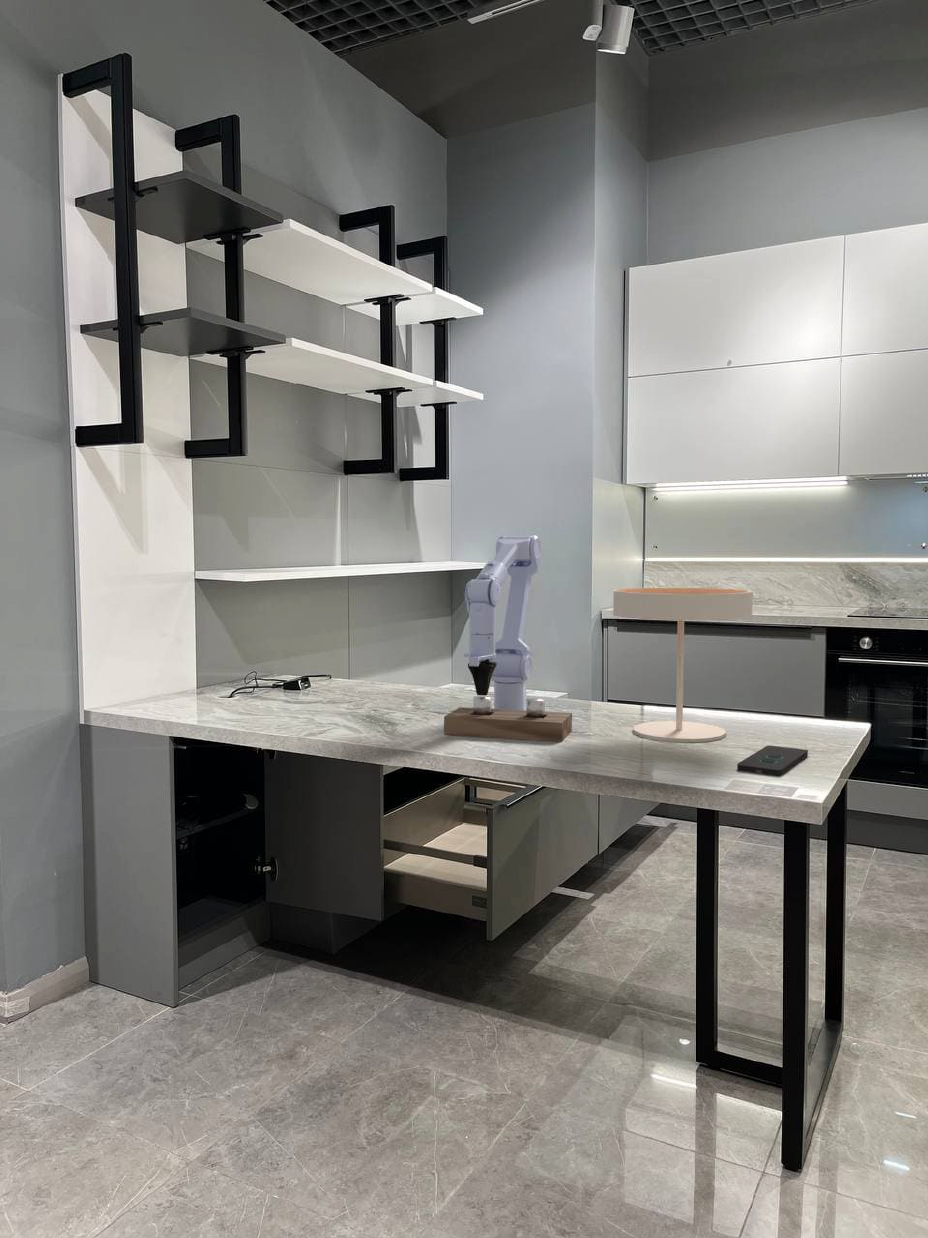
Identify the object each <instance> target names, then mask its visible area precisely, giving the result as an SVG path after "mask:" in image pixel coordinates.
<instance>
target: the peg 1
mask: <svg viewBox="0 0 928 1238" xmlns="http://www.w3.org/2000/svg"><path fill="white" fill-rule="evenodd" d="M472 698H473V699H472V700H473V705H472V706H473V707H472V708H473V715H486V716H490V715H491V709H492V696H491V695H486V696H483V695H475V696H473V697H472Z"/></svg>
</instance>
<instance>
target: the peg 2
mask: <svg viewBox="0 0 928 1238" xmlns="http://www.w3.org/2000/svg"><path fill="white" fill-rule="evenodd" d="M545 704H546V699H545V698H537V697H530V698H526V718H545V712H546V711H545V709H546V705H545Z"/></svg>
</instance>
